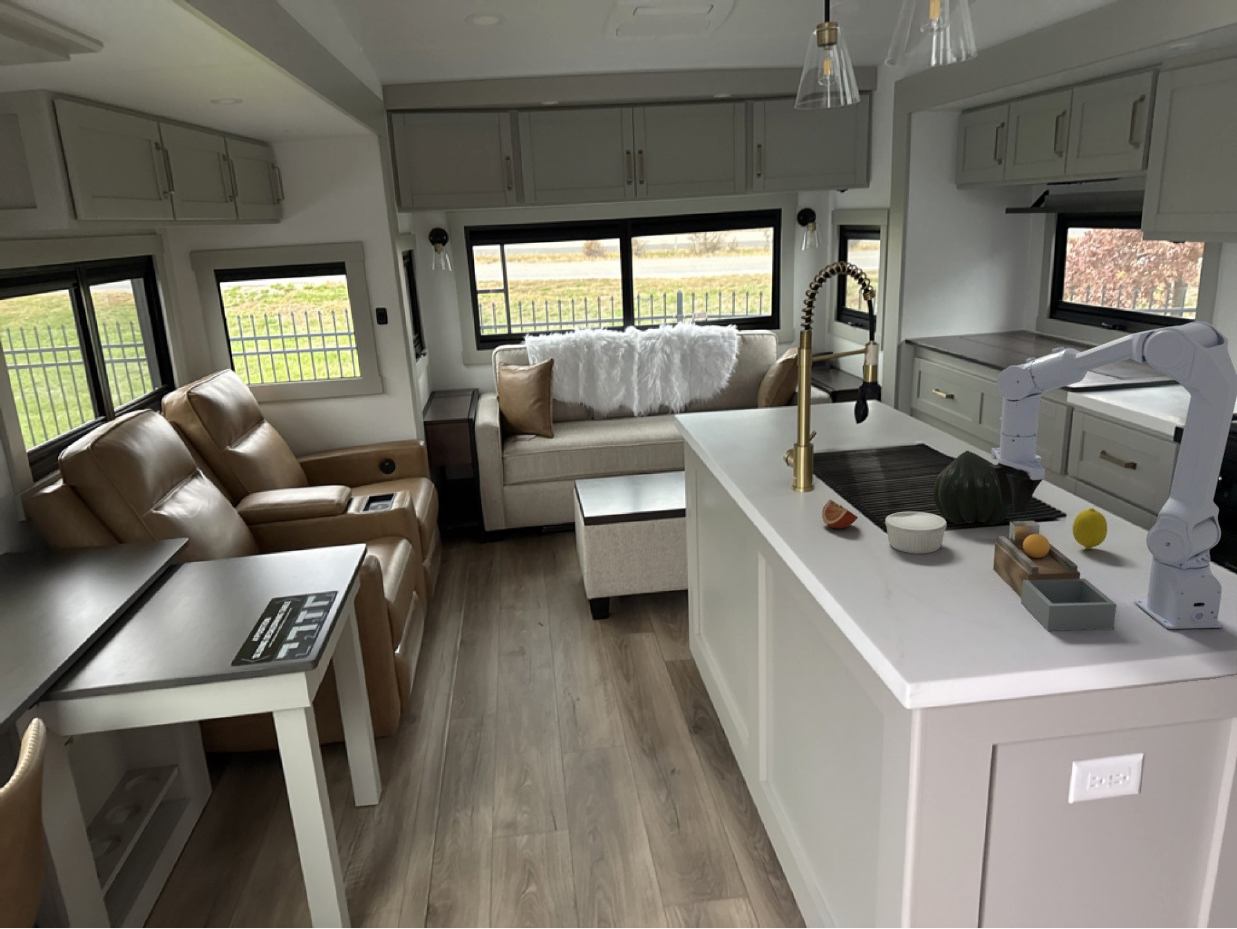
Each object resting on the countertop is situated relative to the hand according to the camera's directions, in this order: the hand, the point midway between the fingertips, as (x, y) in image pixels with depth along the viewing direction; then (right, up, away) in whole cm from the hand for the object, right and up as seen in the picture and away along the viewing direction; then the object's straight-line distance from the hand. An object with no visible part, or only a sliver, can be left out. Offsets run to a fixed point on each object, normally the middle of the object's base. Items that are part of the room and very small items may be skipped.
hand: (1013, 507), depth 147 cm
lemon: (+17, -8, +6) cm, 20 cm away
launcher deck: (0, -13, -7) cm, 14 cm away
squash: (+3, -4, +25) cm, 25 cm away
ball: (0, -6, -9) cm, 11 cm away
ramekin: (-13, -8, +13) cm, 20 cm away
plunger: (0, -6, -3) cm, 7 cm away
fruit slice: (-24, -5, +26) cm, 36 cm away
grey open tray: (-1, -16, -18) cm, 24 cm away
